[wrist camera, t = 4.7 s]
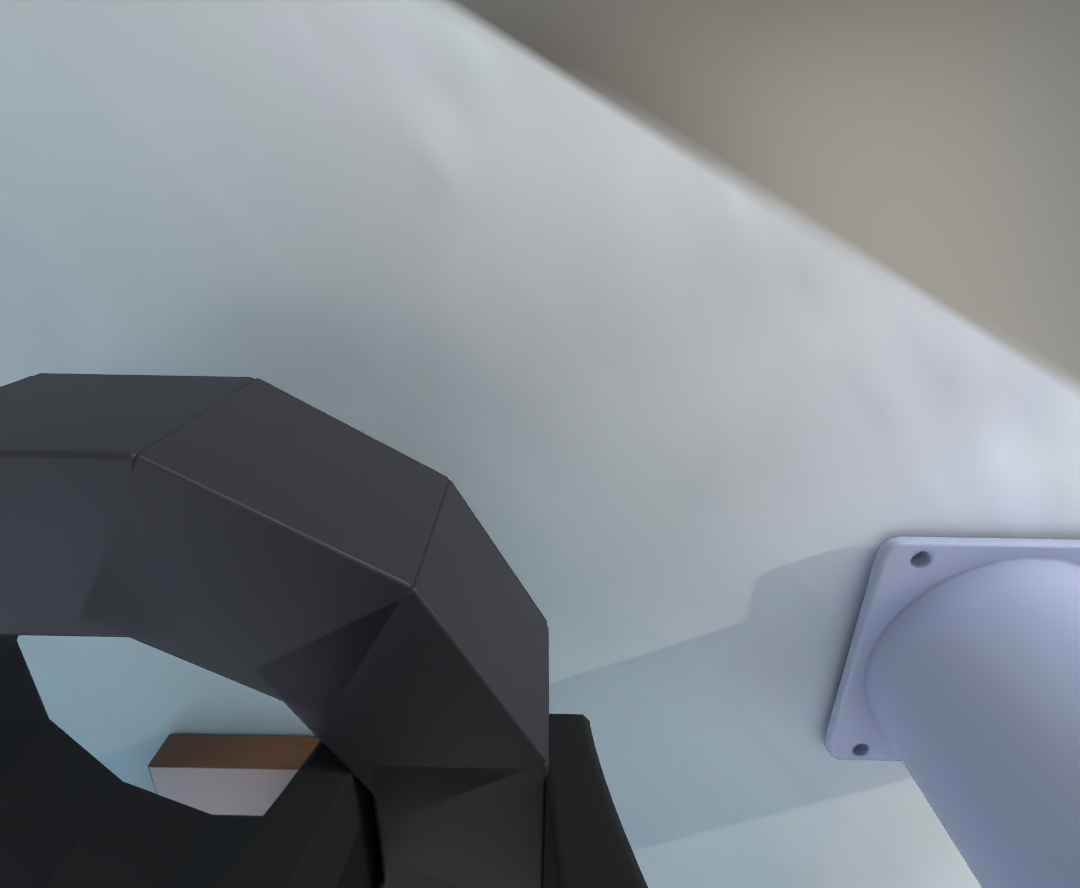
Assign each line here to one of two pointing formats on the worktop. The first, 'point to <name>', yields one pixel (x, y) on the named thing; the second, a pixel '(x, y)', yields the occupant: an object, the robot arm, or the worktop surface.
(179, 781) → the stand
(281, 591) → the ring
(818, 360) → the worktop surface
